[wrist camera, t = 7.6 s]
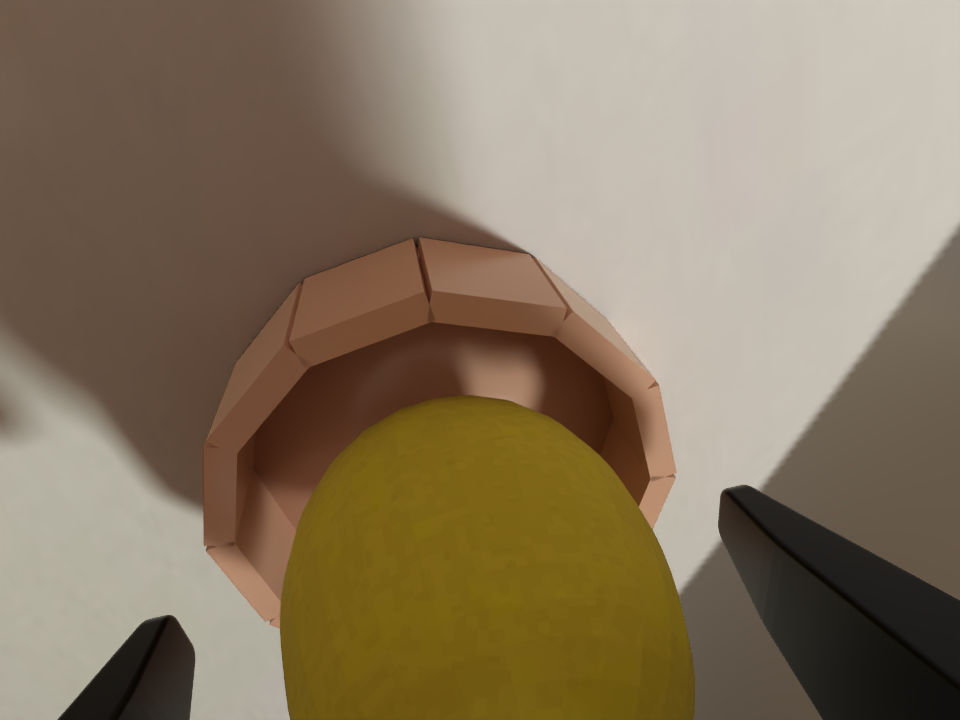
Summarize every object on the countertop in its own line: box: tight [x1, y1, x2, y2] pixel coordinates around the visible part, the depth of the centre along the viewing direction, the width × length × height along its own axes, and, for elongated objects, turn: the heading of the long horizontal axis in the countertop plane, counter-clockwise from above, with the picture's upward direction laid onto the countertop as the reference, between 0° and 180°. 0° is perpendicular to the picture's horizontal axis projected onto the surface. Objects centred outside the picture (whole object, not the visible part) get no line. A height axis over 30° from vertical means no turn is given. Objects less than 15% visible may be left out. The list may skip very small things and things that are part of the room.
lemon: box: [280, 395, 695, 720], centre depth 9 cm, size 6×6×8 cm
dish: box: [203, 237, 676, 628], centre depth 12 cm, size 8×8×2 cm
